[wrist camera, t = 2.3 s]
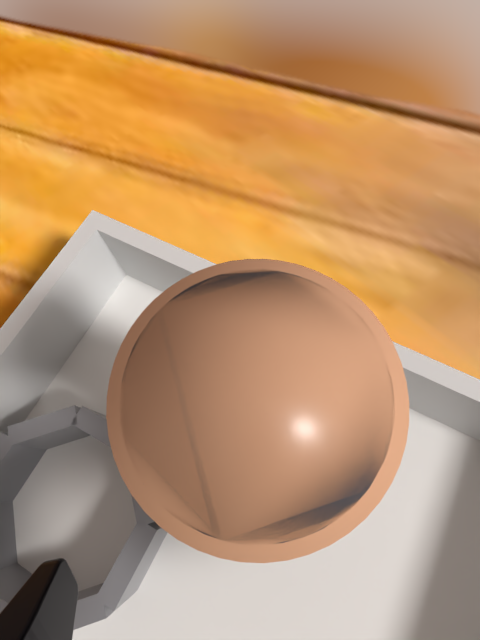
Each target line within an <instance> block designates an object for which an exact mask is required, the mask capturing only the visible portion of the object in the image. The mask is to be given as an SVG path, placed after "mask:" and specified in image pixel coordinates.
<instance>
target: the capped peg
mask: <svg viewBox="0 0 480 640" xmlns="http://www.w3.org/2000/svg"><path fill="white" fill-rule="evenodd" d="M106 419H107V428H108V437H109V441H110V445H111V449H112V453H113V457H114V460H115V462H116V465H117V467H118V470H119V472H120V475H121V477H122V479H123V481H124V482H125V484H126V486H127V488H128V489H129V491H130V493H131V495H132V496H133V497H134V499H135V500H136V501H137V503H138V504H139V505H140V506H141V508H142V509H143V510H144V512H145V513H146V514H147V515H148V516H149V517H150V518H151V519H152V520H153V521H155V522H156V523H157V524H158V525H159V526H160V527H161V528H162V529H164V530H165V531H166V532H168V533H169V534H170V535H172V536H173V537H174V538H176V539H177V540H179V541H181V542H183V543H184V544H186V545H188V546H190V547H192V548H194V549H196V550H198V551H201V552H203V553H206V554H209V555H212V556H215V557H218V558H221V559H227V560H232V561H237V562H246V563H270V562H279V561H287V560H291V559H295V558H299V557H302V556H306V555H309V554H312V553H314V552H316V551H318V550H321V549H323V548H325V547H328V546H330V545H331V544H333V543H335V542H336V541H338V540H339V539H341V538H342V537H344V536H346V535H347V534H349V533H350V532H351V531H352V530H353V529H354V528H356V527H357V526H358V525H359V524H360V523H361V522H363V521H364V520H365V519H366V518H367V517H368V516H369V514H370V513H371V512H372V511H373V510H374V508H375V507H376V506H377V505H378V504H379V503H380V501H381V500H382V498H383V497H384V495H385V493H386V492H387V490H388V489H389V487H390V485H391V484H392V482H393V480H394V477H395V475H396V473H397V471H398V468H399V466H400V464H401V460H402V457H403V453H404V450H405V446H406V442H407V435H408V428H409V396H408V389H407V381H406V378H405V374H404V370H403V367H402V363H401V360H400V358H399V355H398V353H397V351H396V348H395V346H394V344H393V342H392V340H391V338H390V337H389V335H388V333H387V331H386V330H385V328H384V327H383V325H382V324H381V323H380V321H379V320H378V319H377V317H376V316H375V315H374V313H373V312H372V311H371V310H370V309H369V308H368V307H367V306H366V305H365V304H364V303H363V302H362V301H361V300H360V299H359V298H358V297H357V296H356V295H354V294H353V293H352V292H351V291H349V290H348V289H347V288H346V287H344V286H343V285H341V284H339V283H338V282H336V281H335V280H333V279H332V278H330V277H328V276H326V275H323V274H321V273H319V272H317V271H315V270H312V269H309V268H307V267H304V266H301V265H298V264H293V263H289V262H284V261H278V260H269V259H245V260H237V261H229V262H225V263H221V264H217V265H213V266H210V267H207V268H205V269H202V270H199V271H197V272H195V273H193V274H191V275H189V276H187V277H185V278H183V279H181V280H180V281H178V282H176V283H175V284H173V285H172V286H170V287H169V288H167V289H166V290H165V291H164V292H162V293H161V294H160V295H159V296H158V297H157V298H155V299H154V300H153V301H152V302H151V303H150V304H149V305H148V306H147V307H146V309H145V310H144V311H143V312H142V313H141V314H140V316H139V317H138V318H137V320H136V321H135V322H134V324H133V325H132V326H131V328H130V330H129V331H128V333H127V335H126V337H125V338H124V340H123V342H122V344H121V346H120V348H119V351H118V353H117V356H116V358H115V361H114V364H113V368H112V371H111V375H110V378H109V385H108V392H107V406H106Z"/></svg>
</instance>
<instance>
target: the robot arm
mask: <svg viewBox="0 0 480 640" xmlns="http://www.w3.org/2000/svg"><path fill="white" fill-rule="evenodd" d="M77 599H78V584H77V581H76V579H75V577H74V575H73V573H72V571H71V569H70V567H69V565H68V563H67V561H66V560H65V559H63V558H58V559H53V560H48V561H45V562H43V563H42V564H41V565H40V566H39V567H38V568H37V569H36V570H35V572H34V573H33V574H32V575H31V576H30V578H29V579H28V580H27V581H26V582H25V584H24V585H23V586H22V587H21V589H20V590H19V591H18V592H17V593H16V595H15V596H14V597H13V598H12V599H11V601H10V602H9V603H8V604H7V606H6V607H5V608H4V609H3V610H2V612H1V613H0V640H72V637H73V629H74V622H75V614H76V607H77Z"/></svg>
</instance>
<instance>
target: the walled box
mask: <svg viewBox="0 0 480 640" xmlns="http://www.w3.org/2000/svg"><path fill="white" fill-rule="evenodd" d="M213 265H217V264H214V263H212V262H210V261H208V260H205V259H203V258H201V257H199V256H196V255H194V254H192V253H189V252H187V251H185V250H183V249H180V248H178V247H176V246H173V245H171V244H169V243H167V242H164V241H162V240H160V239H157V238H155V237H153V236H151V235H148V234H146V233H144V232H141V231H139V230H137V229H135V228H132V227H130V226H128V225H125V224H123V223H121V222H119V221H116V220H114V219H112V218H109V217H107V216H105V215H103V214H100V213H98V212H96V211H93V210H92V212H91V213H90V214H89V215H88V217H87V218H86V219H85V220H84V222H83V223H82V224H81V226H80V227H79V228H78V229H77V231H76V232H75V233H74V235H73V236H72V237H71V238H70V240H69V241H68V242H67V244H66V245H65V246H64V247H63V249H62V250H61V251H60V253H59V254H58V255H57V256H56V258H55V259H54V260H53V262H52V263H51V264H50V265H49V267H48V268H47V269H46V271H45V272H44V273H43V274H42V276H41V277H40V278H39V280H38V281H37V282H36V283H35V285H34V286H33V287H32V289H31V290H30V291H29V292H28V294H27V295H26V296H25V298H24V299H23V300H22V301H21V303H20V304H19V305H18V307H17V308H16V309H15V310H14V312H13V313H12V314H11V316H10V317H9V318H8V319H7V321H6V322H5V323H4V325H3V326H2V327H1V328H0V613H1V612H2V610H3V609H4V608H5V607H6V606H7V604H8V603H9V602H10V601H11V599H12V598H13V597H14V596H15V595H16V593H17V592H18V591H19V590H20V589H21V587H22V586H23V585H24V584H25V582H26V581H27V580H28V579H29V578H30V576H31V575H32V574H33V573H34V572H35V570H36V569H37V568H38V567H39V566H40V565H41V564H42V563H43V562H45V561H48V560H53V559H58V558H63V559H65V560H66V561H67V563H68V565H69V567H70V569H71V571H72V573H73V575H74V577H75V579H76V581H77V584H78V599H77V607H76V614H75V622H74V629H73V637H72V640H480V380H479V379H477V378H475V377H472V376H470V375H468V374H466V373H463V372H461V371H459V370H456V369H454V368H452V367H450V366H447V365H445V364H443V363H441V362H438V361H436V360H434V359H431V358H429V357H427V356H425V355H422V354H420V353H418V352H415V351H413V350H411V349H409V348H406V347H404V346H402V345H399V344H397V343H395V342H393V341H392V342H393V344H394V346H395V348H396V351H397V353H398V355H399V358H400V360H401V363H402V367H403V370H404V374H405V378H406V381H407V389H408V396H409V428H408V435H407V442H406V446H405V450H404V453H403V457H402V460H401V464H400V466H399V468H398V471H397V473H396V475H395V477H394V480H393V482H392V484H391V485H390V487H389V489H388V490H387V492H386V493H385V495H384V497H383V498H382V500H381V501H380V503H379V504H378V505H377V506H376V507H375V508H374V510H373V511H372V512H371V513H370V514H369V516H368V517H367V518H366V519H365V520H364V521H363V522H361V523H360V524H359V525H358V526H357V527H356V528H354V529H353V530H352V531H351V532H350V533H349V534H347V535H346V536H344V537H342V538H341V539H339V540H338V541H336V542H335V543H333V544H331V545H330V546H328V547H325V548H323V549H321V550H318V551H316V552H314V553H312V554H309V555H306V556H302V557H299V558H295V559H291V560H287V561H279V562H270V563H246V562H237V561H232V560H227V559H221V558H218V557H215V556H212V555H209V554H206V553H203V552H201V551H198V550H196V549H194V548H192V547H190V546H188V545H186V544H184V543H183V542H181V541H179V540H177V539H176V538H174V537H173V536H172V535H170V534H169V533H168V532H166V531H165V530H164V529H162V528H161V527H160V526H159V525H158V524H157V523H156V522H155V521H153V520H152V519H151V518H150V517H149V516H148V515H147V514H146V513H145V512H144V510H143V509H142V508H141V506H140V505H139V504H138V503H137V501H136V500H135V499H134V497H133V496H132V495H131V493H130V491H129V489H128V488H127V486H126V484H125V482H124V481H123V479H122V477H121V475H120V472H119V470H118V467H117V465H116V462H115V460H114V457H113V453H112V449H111V445H110V441H109V437H108V428H107V419H106V406H107V392H108V385H109V378H110V375H111V371H112V368H113V364H114V361H115V358H116V356H117V353H118V351H119V348H120V346H121V344H122V342H123V340H124V338H125V337H126V335H127V333H128V331H129V330H130V328H131V326H132V325H133V324H134V322H135V321H136V320H137V318H138V317H139V316H140V314H141V313H142V312H143V311H144V310H145V309H146V307H147V306H148V305H149V304H150V303H151V302H152V301H153V300H154V299H155V298H157V297H158V296H159V295H160V294H161V293H162V292H164V291H165V290H166V289H167V288H169V287H170V286H172V285H173V284H175V283H176V282H178V281H180V280H181V279H183V278H185V277H187V276H189V275H191V274H193V273H195V272H197V271H199V270H202V269H205V268H207V267H210V266H213Z"/></svg>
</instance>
